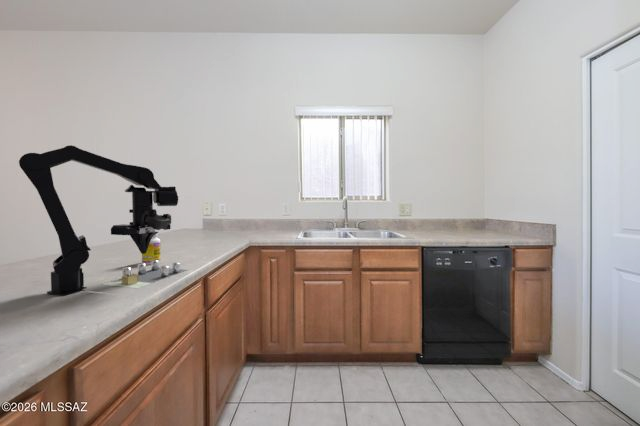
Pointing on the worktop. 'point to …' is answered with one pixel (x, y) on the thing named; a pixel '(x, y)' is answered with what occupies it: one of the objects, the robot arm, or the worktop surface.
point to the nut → (130, 279)
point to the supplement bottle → (152, 251)
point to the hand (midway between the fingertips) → (143, 253)
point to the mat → (144, 279)
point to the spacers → (153, 268)
